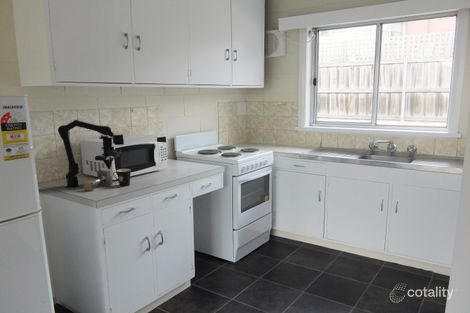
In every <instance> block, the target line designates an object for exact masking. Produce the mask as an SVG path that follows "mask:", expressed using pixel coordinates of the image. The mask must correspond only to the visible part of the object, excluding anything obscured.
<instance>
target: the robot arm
mask: <svg viewBox="0 0 470 313" xmlns="http://www.w3.org/2000/svg"><path fill="white" fill-rule="evenodd" d="M76 127H78V128H82V129H86V130H89V131H90V130H91V131H93V132H96V133H99V134H101V135H100V137H99V138H98V139H99V140H102V147H101V149H102V151H103V153H101V154H99V155H95V156H94V161H99V162H100V161H101V162H103V163H104V164H105V167H106V168H107V169H108V170H111V169H112V168H111V167H112V164H113V162H114V160H116V158H119V157H122V153H123V152H122V149H121V148H118V149H115V147H114V146H124V145H125V142H124V141H125V140H124V134H121V133H120V134H115V133H114V132H113V131H112V127H110V126H109V125H99V124H95V123H90V122H86V121H82V120H79V119H74V120H73V121H71V122H70V123H67V124H62V125H60V126H58V128H57V132H58V134H59V137H60V138H61V139H62V141H63V146H64V150H65V153H66V156H67V160H68V171H67V173H65V174H66V175H65V179H66V180H65V181H66V185H65V186H64V188H70V187H73V188H76V187H79V185H80V184H79V179H78V176H77V175H78V174H79V173H80V171H81V165H80V161H76V158H75V153H74V150H73V147H72V143H71V131H70V130H72V129H74V128H76ZM113 145H114V146H113Z"/></svg>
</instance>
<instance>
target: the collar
mask: <svg viewBox="0 0 470 313" xmlns="http://www.w3.org/2000/svg"><path fill="white" fill-rule="evenodd" d="M96 174H97V179H101V178H104V176H105V179H106V183H105V182H101V183H98V184H97V185H98V186H103V187H109V186H112V184H111V177H110V176H111V171H110V170H103V169H100V170H97V171H96Z"/></svg>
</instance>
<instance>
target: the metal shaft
mask: <svg viewBox="0 0 470 313" xmlns="http://www.w3.org/2000/svg"><path fill="white" fill-rule="evenodd" d="M110 177H111V185H113V175H112V176H111V175H110ZM101 182H105V183H106V179H105V176H103V178H101V179H98V178H97V179H94V180H91V181H84V183H83V185H84V187H83V188H84V191H85V190H86V191H85V192H93V191H94V186H95V185H98V183H101Z"/></svg>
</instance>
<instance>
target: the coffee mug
mask: <svg viewBox="0 0 470 313" xmlns="http://www.w3.org/2000/svg"><path fill="white" fill-rule="evenodd" d="M115 173H116V175H117V176H115ZM131 173H132V172H131V168H130V169H129V168H120V169H117V170H116V171H114V172H113V173H112V177H114V178H115V179H116V180H117V181H118V184H119V187H122V188H123V187H125V186H126V187H129V186H130V185H131V175H132V174H131Z"/></svg>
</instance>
